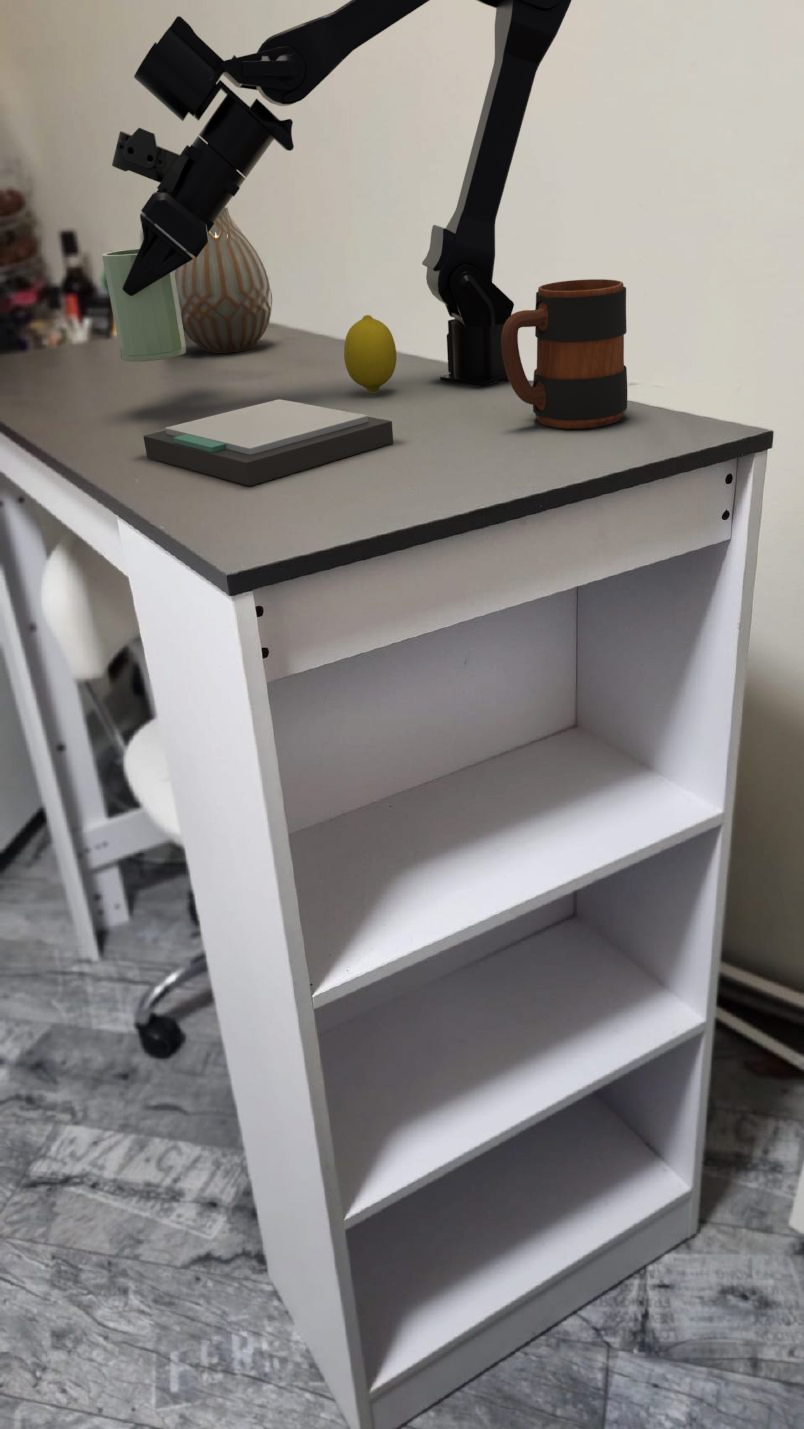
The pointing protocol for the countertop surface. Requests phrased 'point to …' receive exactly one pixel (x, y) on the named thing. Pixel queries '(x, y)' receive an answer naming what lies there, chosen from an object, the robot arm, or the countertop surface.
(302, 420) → the scale
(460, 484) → the countertop surface
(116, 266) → the cup
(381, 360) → the lemon
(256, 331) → the vase
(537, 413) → the mug
